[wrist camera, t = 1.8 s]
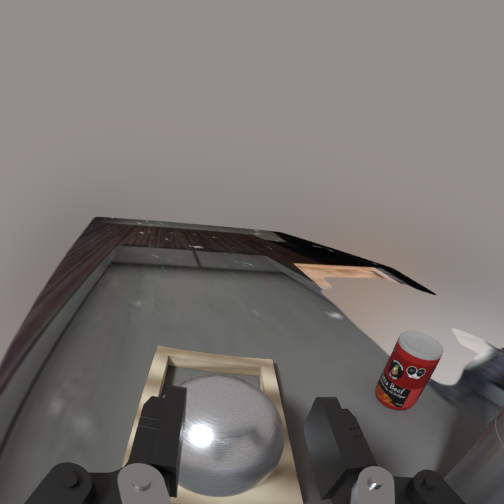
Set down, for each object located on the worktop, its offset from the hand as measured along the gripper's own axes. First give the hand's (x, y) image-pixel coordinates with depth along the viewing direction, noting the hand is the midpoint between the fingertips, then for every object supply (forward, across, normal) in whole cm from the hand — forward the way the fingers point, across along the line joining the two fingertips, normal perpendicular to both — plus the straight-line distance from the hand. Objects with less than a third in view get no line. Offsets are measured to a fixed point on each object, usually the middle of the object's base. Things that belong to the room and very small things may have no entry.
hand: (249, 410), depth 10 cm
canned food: (+23, -30, +22) cm, 44 cm away
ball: (+9, 0, +14) cm, 17 cm away
